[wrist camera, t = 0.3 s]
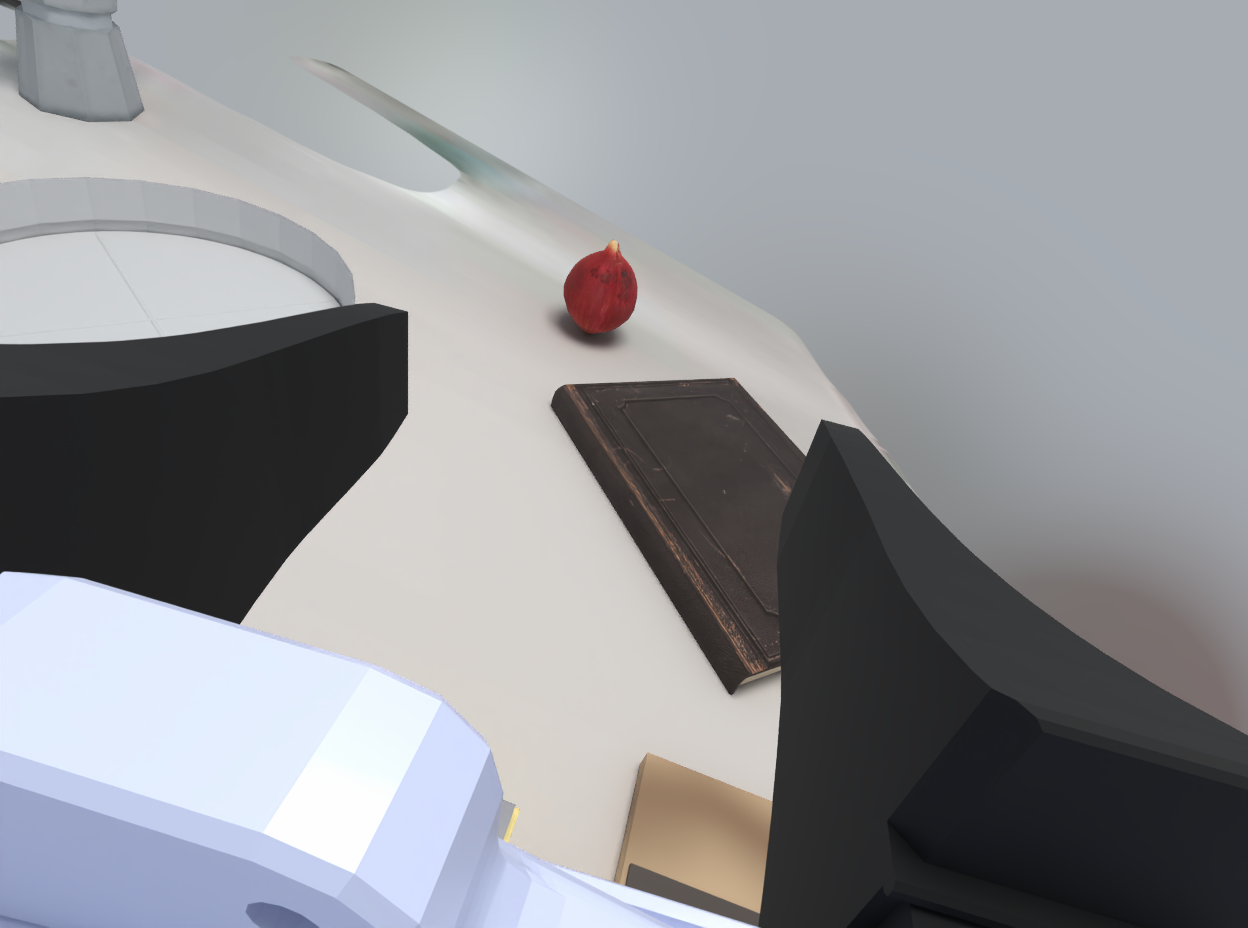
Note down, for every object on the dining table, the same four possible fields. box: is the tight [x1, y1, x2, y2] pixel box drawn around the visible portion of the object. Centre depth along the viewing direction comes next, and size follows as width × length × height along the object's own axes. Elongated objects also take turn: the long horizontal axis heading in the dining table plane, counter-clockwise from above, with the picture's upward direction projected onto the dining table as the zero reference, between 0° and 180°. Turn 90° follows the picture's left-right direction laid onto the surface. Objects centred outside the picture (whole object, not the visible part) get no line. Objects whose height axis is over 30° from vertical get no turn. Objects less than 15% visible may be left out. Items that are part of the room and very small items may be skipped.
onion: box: [564, 240, 637, 334], centre depth 53 cm, size 6×6×8 cm
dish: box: [0, 177, 355, 344], centre depth 39 cm, size 22×22×5 cm
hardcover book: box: [551, 378, 806, 695], centre depth 44 cm, size 16×23×2 cm
